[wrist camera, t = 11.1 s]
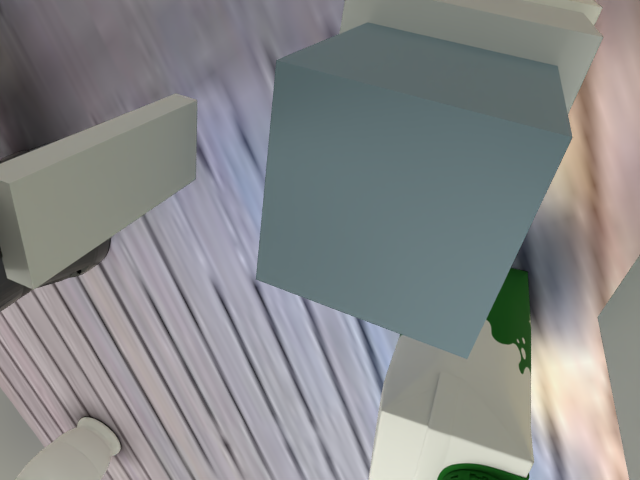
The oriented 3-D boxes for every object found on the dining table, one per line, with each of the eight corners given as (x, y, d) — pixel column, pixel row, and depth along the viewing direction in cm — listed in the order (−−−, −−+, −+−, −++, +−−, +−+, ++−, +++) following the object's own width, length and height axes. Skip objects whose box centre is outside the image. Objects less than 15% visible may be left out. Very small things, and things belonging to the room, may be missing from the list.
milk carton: (513, 346, 42) (501, 589, 26) (412, 317, 44) (343, 523, 28) (543, 264, 37) (551, 499, 21) (428, 237, 40) (357, 430, 24)
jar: (65, 414, 82) (-16, 494, 70) (97, 407, 76) (15, 492, 64) (104, 458, 84) (33, 541, 72) (138, 454, 79) (67, 543, 67)
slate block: (336, 184, 22) (255, 279, 16) (367, 22, 18) (276, 60, 12) (488, 232, 20) (467, 359, 14) (557, 65, 17) (572, 137, 10)
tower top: (361, 140, 29) (313, 193, 23) (397, -26, 24) (348, -19, 18) (510, 183, 27) (503, 255, 21) (583, 12, 22) (603, 37, 16)
